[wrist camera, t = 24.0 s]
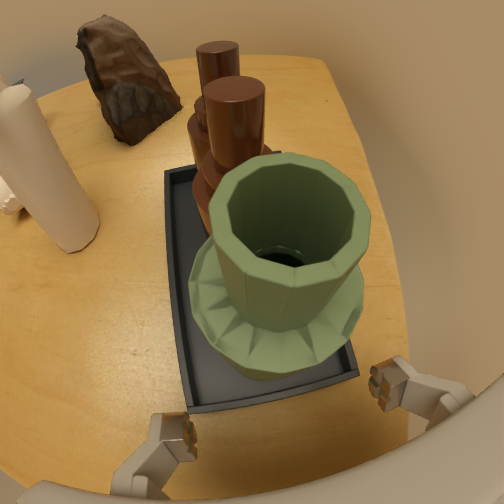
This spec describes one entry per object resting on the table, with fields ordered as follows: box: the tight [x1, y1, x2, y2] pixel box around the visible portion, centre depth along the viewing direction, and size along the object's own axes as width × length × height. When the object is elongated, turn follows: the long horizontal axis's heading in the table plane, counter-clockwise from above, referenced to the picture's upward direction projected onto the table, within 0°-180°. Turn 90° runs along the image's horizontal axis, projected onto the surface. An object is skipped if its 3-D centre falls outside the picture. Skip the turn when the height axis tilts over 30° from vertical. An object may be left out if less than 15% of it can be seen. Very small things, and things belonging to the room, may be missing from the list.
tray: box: [164, 151, 360, 415], centre depth 24 cm, size 24×13×3 cm, turn 12°
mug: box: [0, 175, 24, 215], centre depth 29 cm, size 12×9×8 cm
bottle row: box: [187, 41, 274, 241], centre depth 18 cm, size 11×5×18 cm, turn 12°
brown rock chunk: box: [76, 15, 183, 146], centre depth 29 cm, size 13×13×20 cm
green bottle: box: [188, 152, 371, 382], centre depth 13 cm, size 6×6×18 cm
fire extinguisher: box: [0, 74, 100, 253], centre depth 18 cm, size 7×12×25 cm, turn 32°
